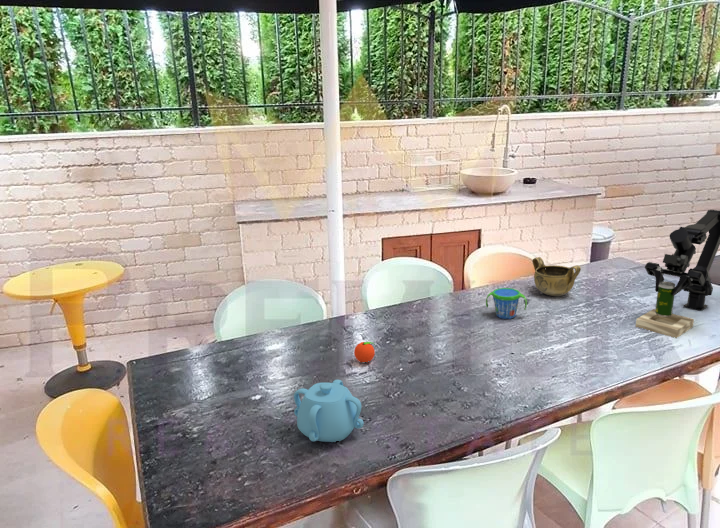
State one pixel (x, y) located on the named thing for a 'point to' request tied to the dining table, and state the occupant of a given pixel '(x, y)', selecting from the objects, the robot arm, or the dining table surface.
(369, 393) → the dining table surface
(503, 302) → the snack cup
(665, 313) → the beer can
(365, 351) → the clementine
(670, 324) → the birch tray
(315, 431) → the decorative pot
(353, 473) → the dining table surface
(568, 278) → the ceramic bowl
